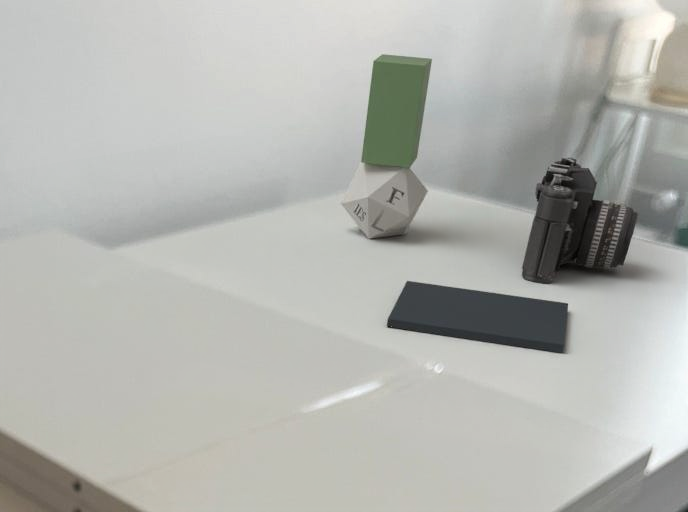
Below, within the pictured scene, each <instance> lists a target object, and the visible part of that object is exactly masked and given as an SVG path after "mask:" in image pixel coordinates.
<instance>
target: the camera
mask: <svg viewBox="0 0 688 512" xmlns="http://www.w3.org/2000/svg"><path fill="white" fill-rule="evenodd" d="M597 185H598V182H597V181H596V179H595V177H594V175H593V173H592V171H591V170H590V168H589V167H582V165H581V164H579V163H577V159H576V158H573V157H566V158H564V157H561V160H557V161H555V162H554V163H553V162H552V163H551V164H550V166H548V167H547V169H546V172H545V175H543V177H542V180H541V182H537V183H536V186H535V193H534V195H535V199H536V202H537V206H536V210H535V214H534V217H533V220H532V224H531V228H530V232H529V235H528V239H527V240H528V241H527V245H526V249H525V253H524V257H523V262H522V266H521V269H522V271H521V276H522V277H523V279H524V280H527V281H530V282H534V283H541V284H550V283H552V280H553V279H554V276H555V272H556V271H559V270H560V266H561V265H565V264H568V263H571V262H575V263H574V264H575V265H579V266H584V267H585V268H588V269H589V268H590V269H591V268H597V267H599V268H602V269H605V270H606V269H607V270H609V268H613V269H615V268H617V267H618V266H624V264H625V260H626V258H627V255H628V252H629V248H630V245H631V241H632V238H633V235H634V231H635V227H636V224H637V221H638V215H639V212H637V211H634V209H633V207H629V206H627V204H622V203H621V204H616V203H615V202H611V201H610V200H609V199H603V200H598V199H594V196H595V193H596V188H597Z"/></svg>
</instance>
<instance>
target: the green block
mask: <svg viewBox="0 0 688 512" xmlns="http://www.w3.org/2000/svg"><path fill="white" fill-rule="evenodd" d="M432 61H433V59H432V58H428V57H415V56H405V55H397V54H395V55H394V54H384V53H383V54H381V55H380V56H378V57H377V58H375V59H374V60H373V61H372V71H371V79H370V86H369V95H368V101H367V102H368V103H367V110H366V119H365V125H364V126H365V127H364V136H363V137H364V138H363V145H362V152H361V160H360V163H361V162H363V163H372V164H380V165H389V166H398V167H407V168H410V169H411V167H412V165H413V164H414V163H415V161H416V160H417V159H418V155H419V147H420V141H421V135H422V127H423V120H424V113H425V109H426V108H425V107H426V101H427V94H428V88H429V81H430V75H431V68H432Z"/></svg>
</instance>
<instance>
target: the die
mask: <svg viewBox="0 0 688 512" xmlns="http://www.w3.org/2000/svg"><path fill="white" fill-rule="evenodd" d="M356 169H357V170H356V171H355V174H354V175H353V177H352V179H351V182H350V184H349V186H348V188H347V190H346V192H345V194H344V196H343V198H342V200H341V201H340V205H341V206H342V207H343V209H344V210H345V211H346V212H347V213H348V215H349V216H350V217H351V219H352V220H353V221H354V222H355V224H356V225H357V226H358V227H359V228H360V230H361V231H362V232H363V234H364V235H365V237H367V238H368V240H369V239H370V240H371V239H378V238H386V237H387V238H388V237H395V236H401V235H402V236H403V235H406V233H407V232H408V230H409V228H410V226H411V225H412V223H413V221H414V218H415V217H416V214H417V213H418V211H419V209H420V207H421V206H422V203H423V201H424V200H425V198H426V196H427V194H428V192H429V190H428V189H427V188H426V186H425V185H424V184H423V182H421V180H420V179H419V177H418V176H417V175H416V173H414V171H413V170H412V169H411V167H410V168H407V167H398V166H389V165H380V164H372V163H363V162H361V161H360V163H359V164H358V167H357V168H356Z"/></svg>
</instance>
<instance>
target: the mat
mask: <svg viewBox="0 0 688 512" xmlns="http://www.w3.org/2000/svg"><path fill="white" fill-rule="evenodd" d="M568 311H569V303H568V302H562V301H556V300H555V301H554V300H549V299H547V300H546V299H541V298H534V297H526V296H519V295H511V294H504V293H499V292H497V293H496V292H490V291H483V290H477V289H468V288H461V287H455V286H446V285H441V284H440V285H439V284H432V283H426V282H418V281H412V280H406V282H405V284H404V286H403V288H402V290H401V292H400V294H399V296H398V297H397V299H396V302H395V304H394V306H393V307H392V310H391V312H390V314H389V316H388V318H387V321H386V327H387V326H392V327H397V328H396V329H399V328H401V329H400V330H405V329H406V330H405V331H412V332H419V333H426V334H433V335H439V336H446V337H452V338H458V339H466V340H474V341H480V342H486V343H494V344H499V345H504V346H505V345H506V346H512V347H519V348H524V349H525V348H526V349H533V350H540V351H546V352H553V353H559V354H562V353H563V352H564V349H565V344H566V343H565V342H566V331H567V320H568ZM392 327H391V328H392Z"/></svg>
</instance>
